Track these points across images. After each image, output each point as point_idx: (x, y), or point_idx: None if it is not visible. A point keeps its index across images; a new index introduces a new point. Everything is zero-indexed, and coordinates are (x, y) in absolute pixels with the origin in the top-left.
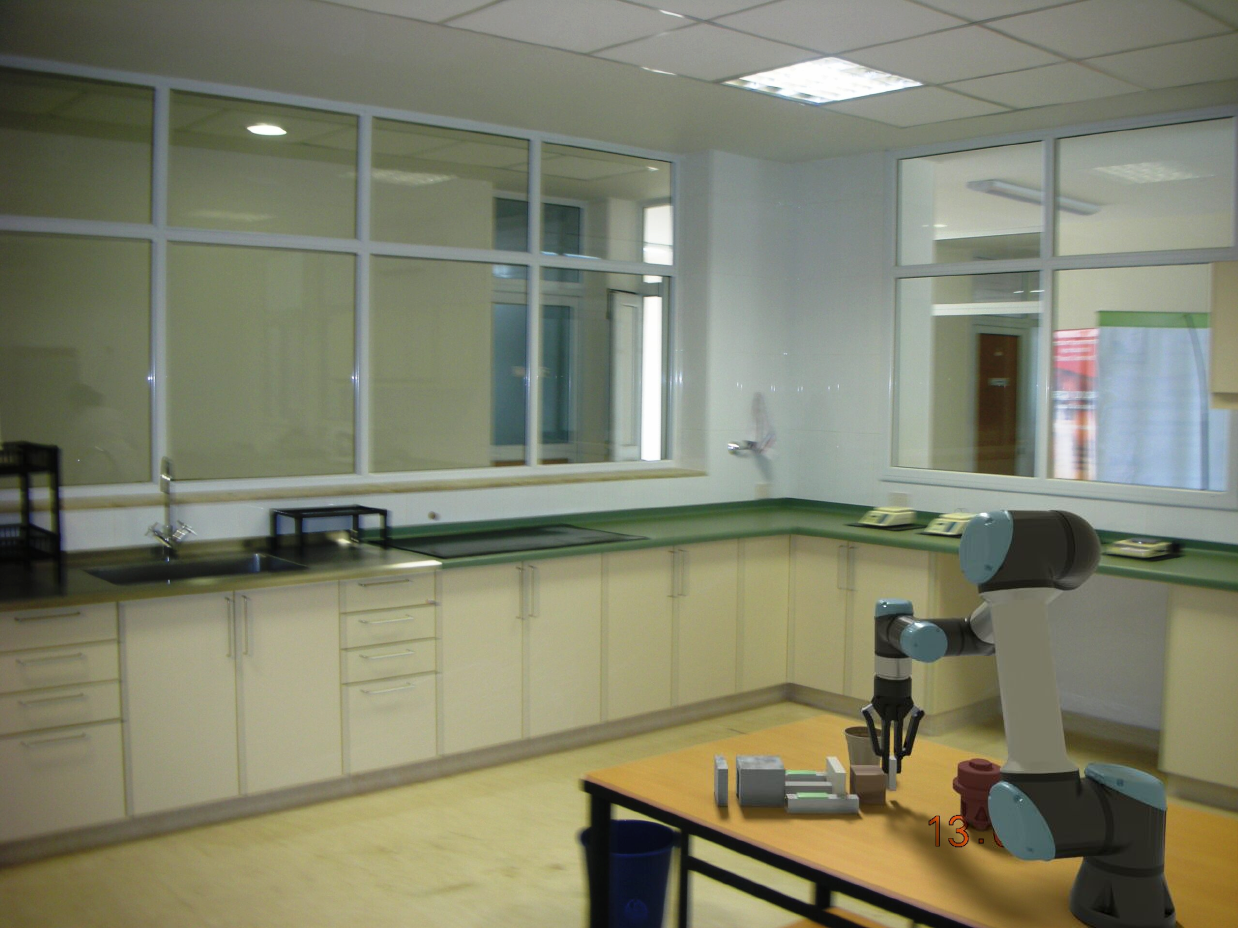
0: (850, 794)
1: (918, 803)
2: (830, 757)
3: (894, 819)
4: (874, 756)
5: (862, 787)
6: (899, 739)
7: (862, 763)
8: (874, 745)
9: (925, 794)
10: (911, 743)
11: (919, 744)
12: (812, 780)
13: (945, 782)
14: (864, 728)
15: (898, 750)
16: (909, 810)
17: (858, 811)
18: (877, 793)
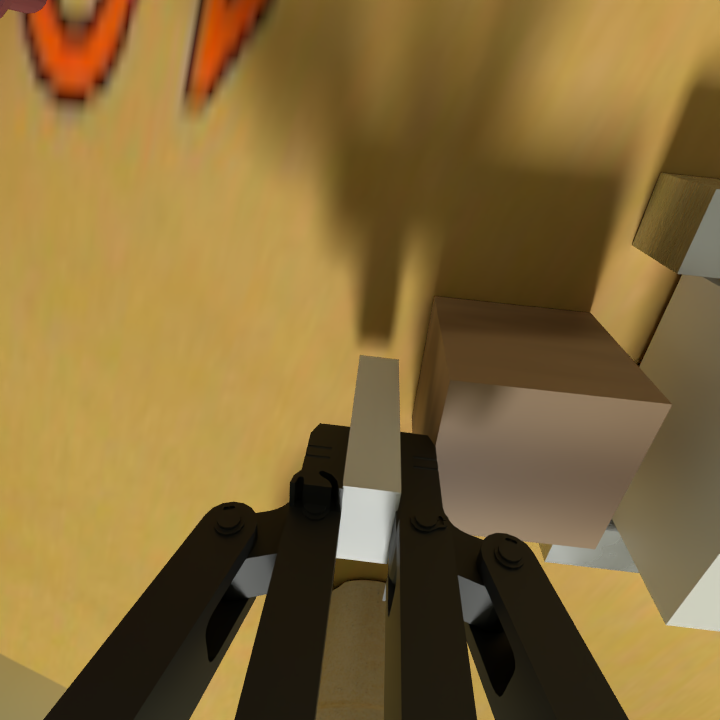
0: (717, 276)
1: (258, 292)
2: (710, 618)
3: (487, 48)
4: (343, 646)
5: (589, 352)
6: (285, 671)
7: None
8: (565, 630)
9: (198, 391)
10: (160, 605)
11: None
12: None
13: (92, 489)
14: None
15: (316, 553)
16: (337, 199)
17: (668, 176)
18: (486, 326)
